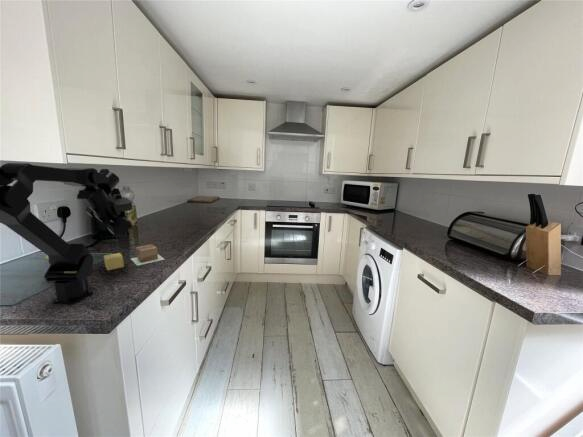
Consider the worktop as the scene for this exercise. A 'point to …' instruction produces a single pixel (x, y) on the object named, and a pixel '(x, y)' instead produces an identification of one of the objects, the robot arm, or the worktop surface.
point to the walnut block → (147, 253)
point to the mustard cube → (113, 261)
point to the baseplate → (147, 261)
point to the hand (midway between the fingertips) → (118, 233)
